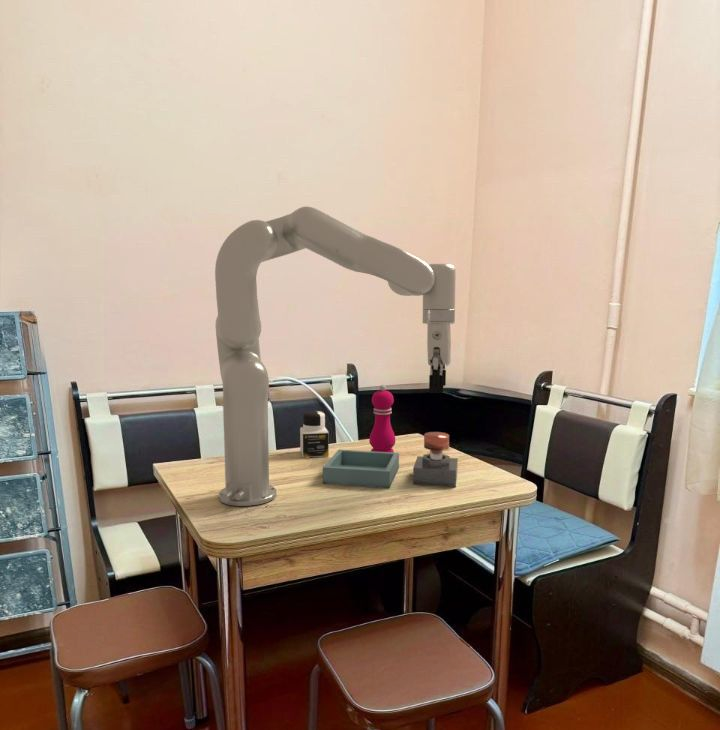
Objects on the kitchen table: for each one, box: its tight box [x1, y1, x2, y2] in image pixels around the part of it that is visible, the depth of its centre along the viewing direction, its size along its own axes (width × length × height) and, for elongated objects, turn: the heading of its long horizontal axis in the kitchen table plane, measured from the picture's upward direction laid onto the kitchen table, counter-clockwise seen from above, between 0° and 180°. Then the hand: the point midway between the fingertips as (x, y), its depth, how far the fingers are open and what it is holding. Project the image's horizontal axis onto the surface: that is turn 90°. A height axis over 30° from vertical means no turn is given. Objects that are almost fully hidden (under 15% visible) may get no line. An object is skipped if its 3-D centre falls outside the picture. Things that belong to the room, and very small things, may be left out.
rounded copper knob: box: [423, 431, 450, 460], centre depth 141 cm, size 6×6×11 cm
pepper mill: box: [369, 384, 396, 453], centre depth 160 cm, size 7×7×20 cm
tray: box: [322, 448, 400, 489], centre depth 144 cm, size 16×16×4 cm
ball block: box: [412, 453, 459, 488], centre depth 141 cm, size 10×10×6 cm
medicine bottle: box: [299, 410, 330, 459], centre depth 162 cm, size 7×7×12 cm
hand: (437, 388), depth 139 cm, fingers open, 9 cm apart
